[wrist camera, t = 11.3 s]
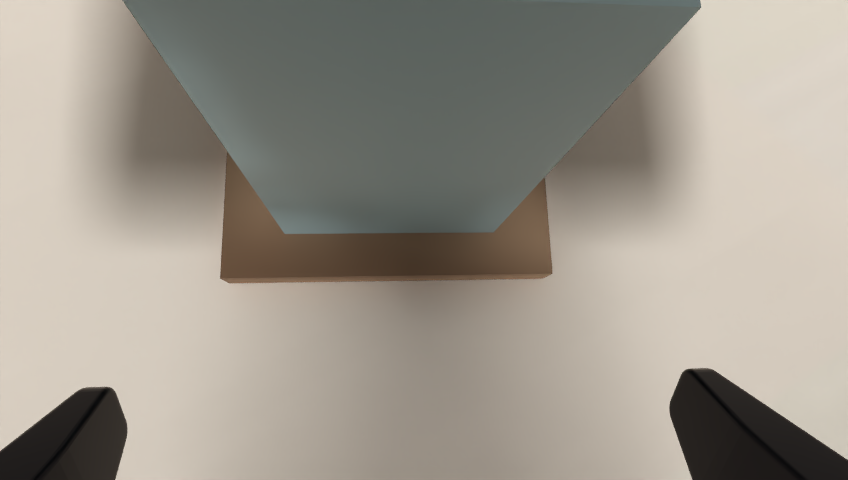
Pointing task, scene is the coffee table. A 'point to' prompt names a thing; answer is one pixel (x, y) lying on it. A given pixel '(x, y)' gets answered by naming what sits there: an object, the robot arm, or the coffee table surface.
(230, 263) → the dock
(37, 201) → the coffee table surface
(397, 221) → the grey-blue block
